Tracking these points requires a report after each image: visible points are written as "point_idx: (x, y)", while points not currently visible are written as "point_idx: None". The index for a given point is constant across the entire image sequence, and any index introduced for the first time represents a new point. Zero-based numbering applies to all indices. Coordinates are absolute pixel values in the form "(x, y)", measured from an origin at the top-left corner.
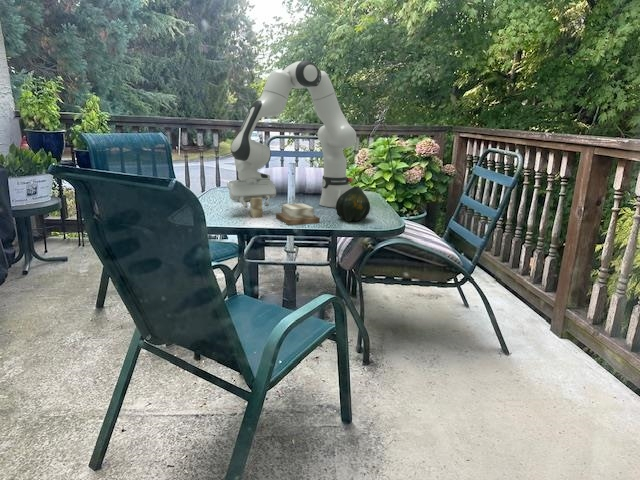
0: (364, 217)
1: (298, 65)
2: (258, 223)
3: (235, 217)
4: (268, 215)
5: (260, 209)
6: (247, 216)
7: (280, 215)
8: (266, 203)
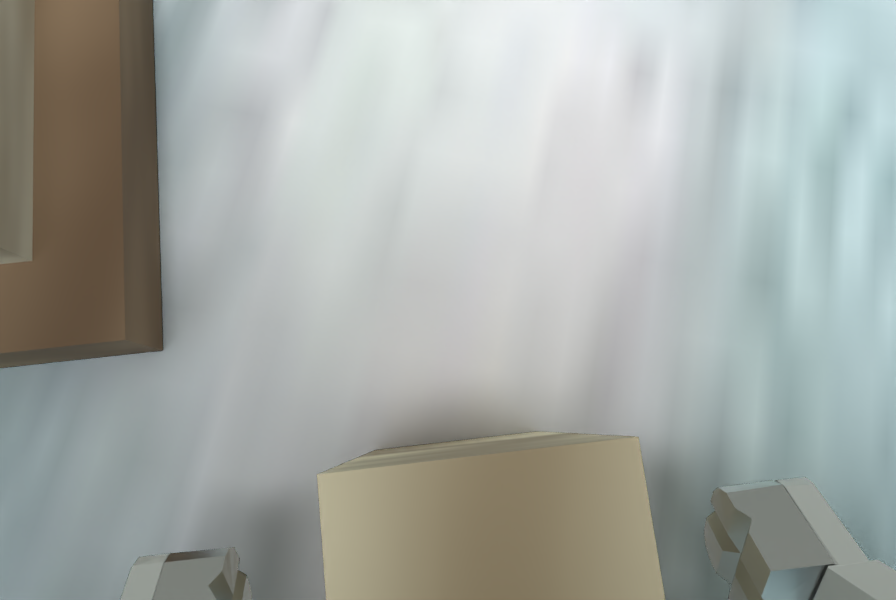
0: None
1: None
2: (525, 51)
3: None
4: None
5: (403, 451)
6: None
7: (108, 139)
8: (202, 563)
